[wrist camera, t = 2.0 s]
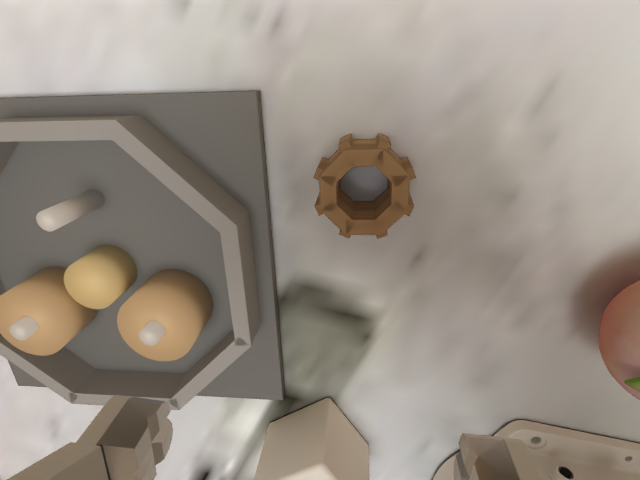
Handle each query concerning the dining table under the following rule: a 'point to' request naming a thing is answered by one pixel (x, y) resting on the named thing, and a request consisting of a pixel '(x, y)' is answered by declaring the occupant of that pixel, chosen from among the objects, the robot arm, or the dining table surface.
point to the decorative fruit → (623, 338)
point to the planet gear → (364, 213)
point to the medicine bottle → (313, 447)
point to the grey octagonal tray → (138, 247)
